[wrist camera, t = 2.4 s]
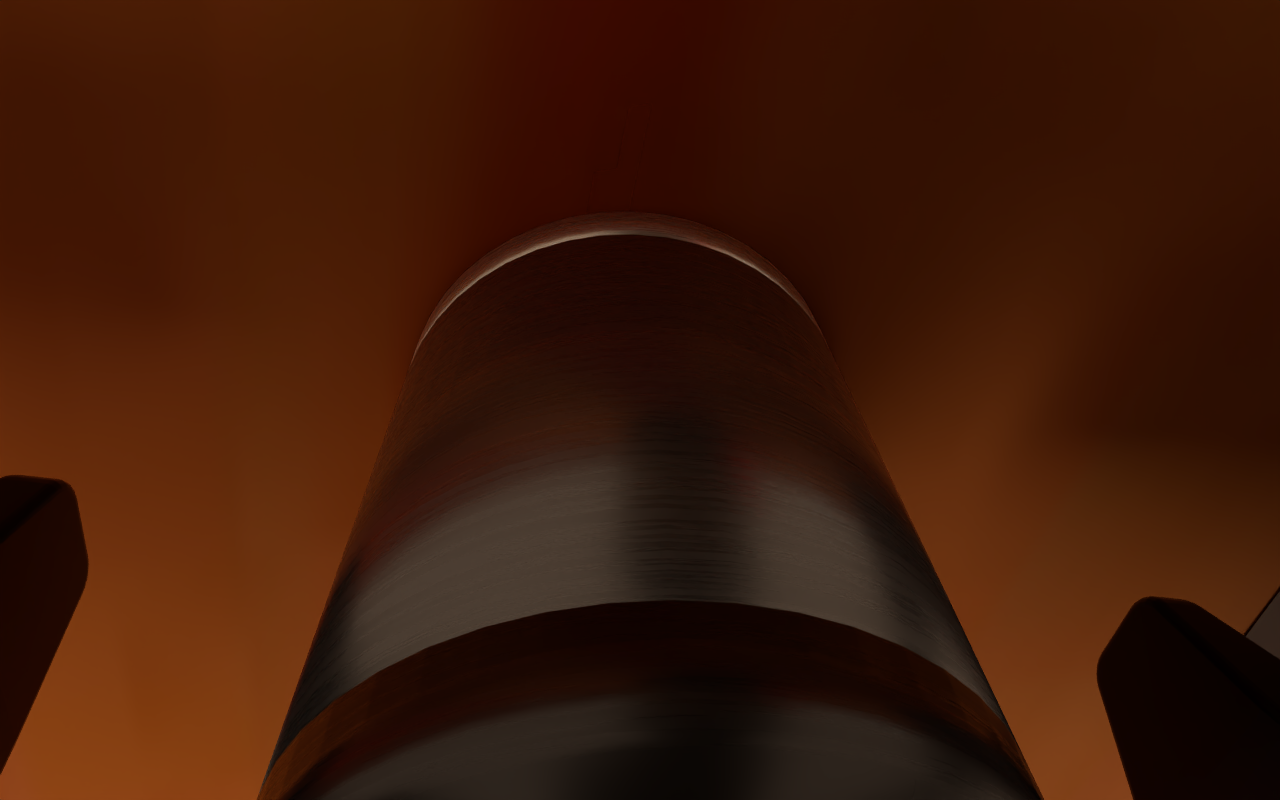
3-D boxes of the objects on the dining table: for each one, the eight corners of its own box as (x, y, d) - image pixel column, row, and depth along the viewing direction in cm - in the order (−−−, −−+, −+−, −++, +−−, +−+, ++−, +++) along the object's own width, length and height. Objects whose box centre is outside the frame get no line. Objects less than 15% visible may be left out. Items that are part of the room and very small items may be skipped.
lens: (888, 248, 9) (1286, 790, 4) (771, 585, 11) (922, 1198, 6) (419, 175, 8) (141, 704, 3) (401, 547, 11) (226, 1194, 6)
